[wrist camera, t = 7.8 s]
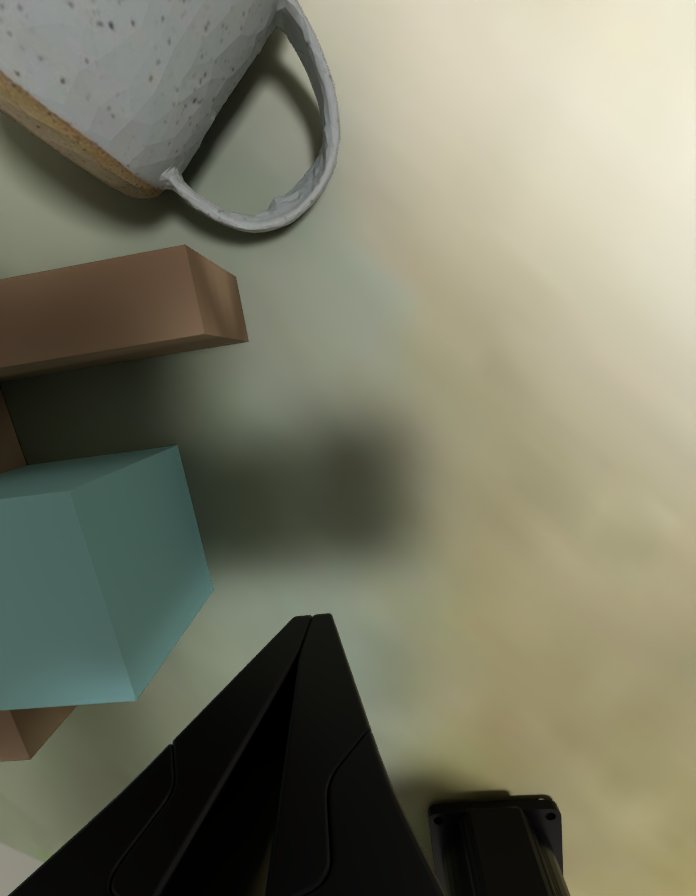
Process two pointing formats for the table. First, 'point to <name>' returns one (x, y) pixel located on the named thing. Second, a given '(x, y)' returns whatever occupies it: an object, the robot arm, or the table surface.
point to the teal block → (95, 576)
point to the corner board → (103, 358)
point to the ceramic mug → (152, 88)
